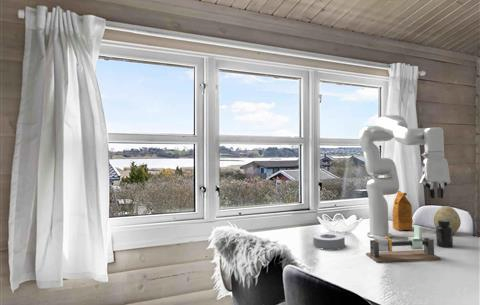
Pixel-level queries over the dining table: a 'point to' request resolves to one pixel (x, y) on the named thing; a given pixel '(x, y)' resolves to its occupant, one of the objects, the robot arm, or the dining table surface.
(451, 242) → the supplement bottle
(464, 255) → the dining table surface
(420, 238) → the mint green stepped block
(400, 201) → the coffee package
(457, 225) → the fossilized egg
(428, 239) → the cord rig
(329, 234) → the tape roll
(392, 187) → the robot arm
